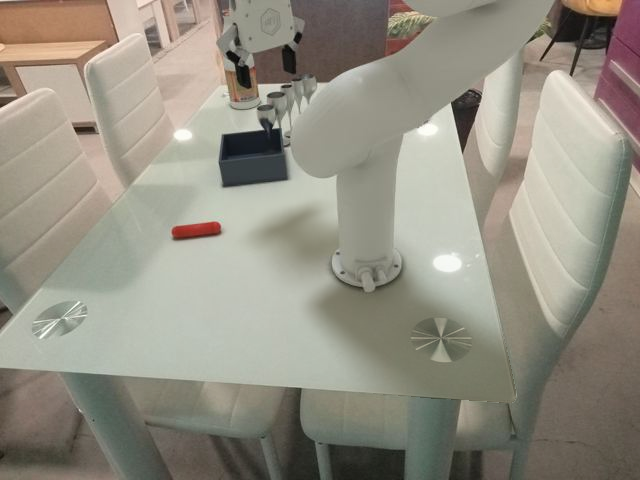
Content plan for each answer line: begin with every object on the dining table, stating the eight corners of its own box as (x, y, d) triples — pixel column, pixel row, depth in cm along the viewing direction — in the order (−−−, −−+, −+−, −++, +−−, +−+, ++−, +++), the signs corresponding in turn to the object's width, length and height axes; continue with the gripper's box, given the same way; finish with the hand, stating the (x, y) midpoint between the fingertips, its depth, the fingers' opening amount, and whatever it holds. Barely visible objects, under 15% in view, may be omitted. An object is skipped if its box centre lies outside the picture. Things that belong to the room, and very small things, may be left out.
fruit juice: (225, 107, 153) (206, 12, 136) (243, 97, 159) (228, 5, 143) (248, 111, 149) (231, 14, 132) (266, 101, 155) (252, 7, 138)
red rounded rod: (222, 228, 99) (220, 218, 98) (221, 234, 97) (219, 225, 96) (173, 233, 99) (170, 224, 97) (172, 240, 97) (169, 231, 95)
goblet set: (276, 157, 122) (269, 107, 114) (257, 153, 124) (249, 104, 116) (322, 114, 142) (319, 69, 134) (305, 112, 144) (301, 67, 136)
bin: (287, 179, 114) (284, 154, 110) (223, 186, 113) (218, 162, 109) (284, 150, 126) (281, 127, 122) (226, 157, 125) (221, 134, 121)
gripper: (218, -17, 69) (238, 98, 79) (312, -35, 77) (318, 71, 88) (194, -22, 74) (215, 87, 84) (285, -39, 82) (294, 63, 92)
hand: (268, 79), depth 86 cm, fingers open, 9 cm apart
